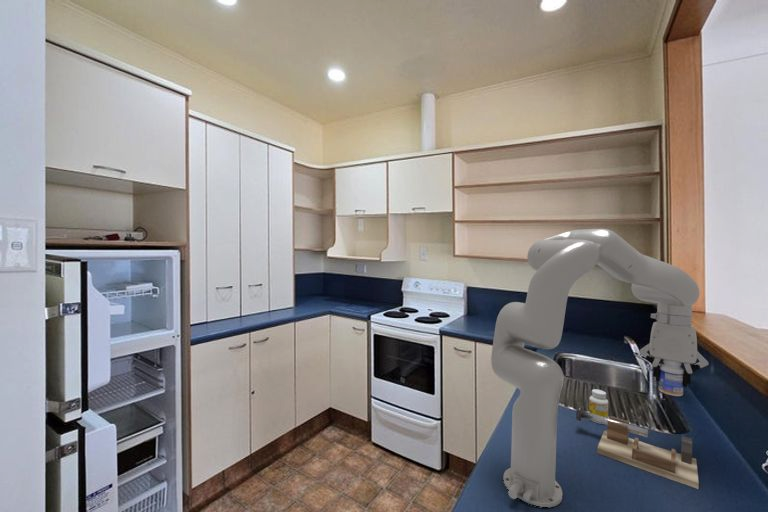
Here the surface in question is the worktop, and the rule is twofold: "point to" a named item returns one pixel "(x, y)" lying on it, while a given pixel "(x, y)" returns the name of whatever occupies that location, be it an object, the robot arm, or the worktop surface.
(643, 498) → the worktop surface
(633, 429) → the steel shaft
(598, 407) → the supplement bottle
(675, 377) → the pill bottle
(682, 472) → the shaft bracket
